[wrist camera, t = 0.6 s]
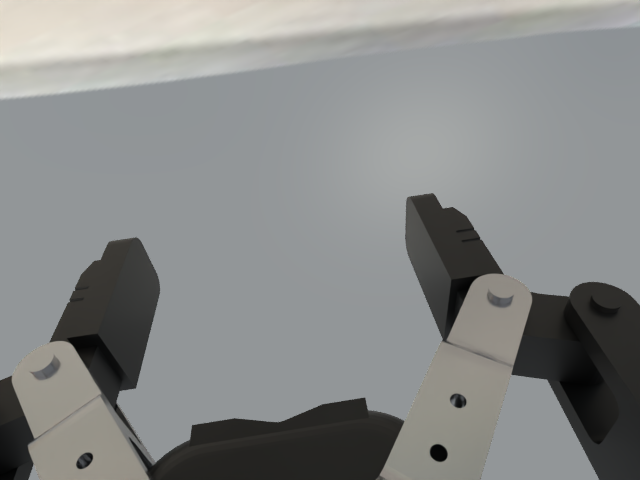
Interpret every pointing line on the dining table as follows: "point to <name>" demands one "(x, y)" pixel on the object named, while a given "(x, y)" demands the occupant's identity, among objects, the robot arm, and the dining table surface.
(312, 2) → the dining table surface
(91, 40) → the dining table surface
